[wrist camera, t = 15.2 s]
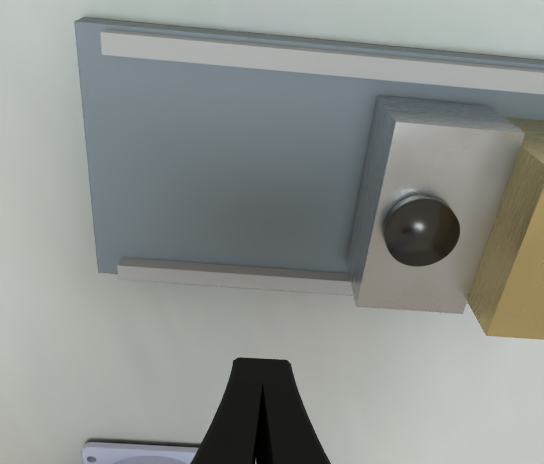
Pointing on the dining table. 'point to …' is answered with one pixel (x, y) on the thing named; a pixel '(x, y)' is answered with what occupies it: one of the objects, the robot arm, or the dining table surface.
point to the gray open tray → (251, 145)
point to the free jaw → (428, 202)
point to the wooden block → (516, 248)
